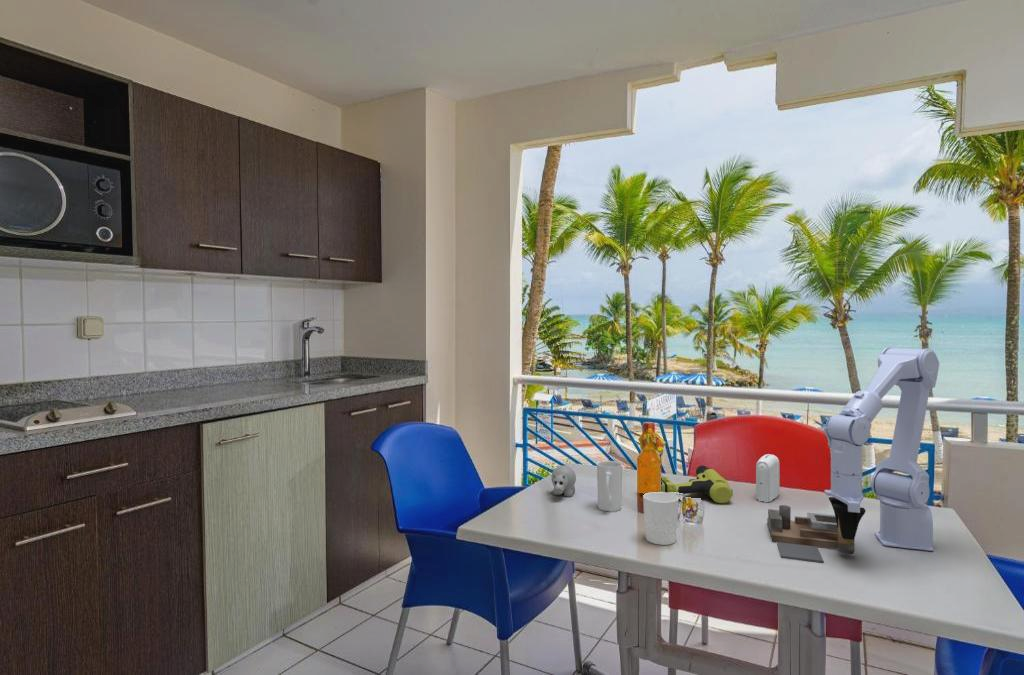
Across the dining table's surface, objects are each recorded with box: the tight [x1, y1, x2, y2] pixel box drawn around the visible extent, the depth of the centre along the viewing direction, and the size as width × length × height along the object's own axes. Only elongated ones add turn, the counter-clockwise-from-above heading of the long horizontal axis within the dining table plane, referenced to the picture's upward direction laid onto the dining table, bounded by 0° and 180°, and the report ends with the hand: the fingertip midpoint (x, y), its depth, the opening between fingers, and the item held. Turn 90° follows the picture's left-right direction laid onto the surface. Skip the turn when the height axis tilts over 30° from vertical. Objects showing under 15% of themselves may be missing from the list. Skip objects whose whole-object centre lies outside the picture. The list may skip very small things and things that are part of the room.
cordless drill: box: [661, 464, 734, 504], centre depth 165 cm, size 7×25×25 cm
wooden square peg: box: [837, 519, 856, 555], centre depth 118 cm, size 3×3×9 cm
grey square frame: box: [806, 512, 838, 532], centre depth 128 cm, size 7×7×3 cm
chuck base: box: [766, 504, 838, 550], centre depth 130 cm, size 16×12×6 cm
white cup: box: [642, 492, 679, 546], centre depth 128 cm, size 8×8×10 cm
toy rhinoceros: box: [550, 465, 577, 498], centre depth 161 cm, size 7×12×8 cm, turn 161°
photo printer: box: [755, 453, 780, 503], centre depth 159 cm, size 10×4×12 cm, turn 138°
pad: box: [776, 542, 824, 564], centre depth 120 cm, size 8×8×1 cm
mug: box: [596, 460, 623, 512], centre depth 150 cm, size 10×7×12 cm, turn 164°
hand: (846, 535), depth 118 cm, fingers closed on wooden square peg, 3 cm apart
